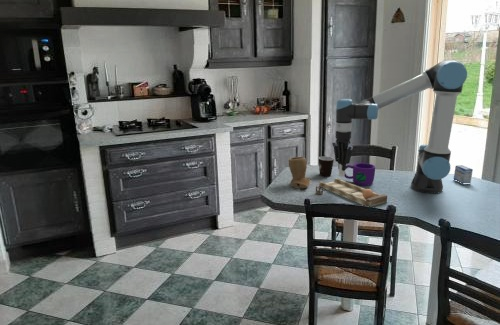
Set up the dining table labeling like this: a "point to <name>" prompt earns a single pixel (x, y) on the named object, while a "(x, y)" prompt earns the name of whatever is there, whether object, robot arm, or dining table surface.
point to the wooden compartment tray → (353, 192)
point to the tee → (319, 191)
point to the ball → (367, 193)
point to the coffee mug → (325, 166)
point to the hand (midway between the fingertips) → (341, 176)
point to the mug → (362, 173)
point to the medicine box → (463, 174)
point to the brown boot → (298, 172)
